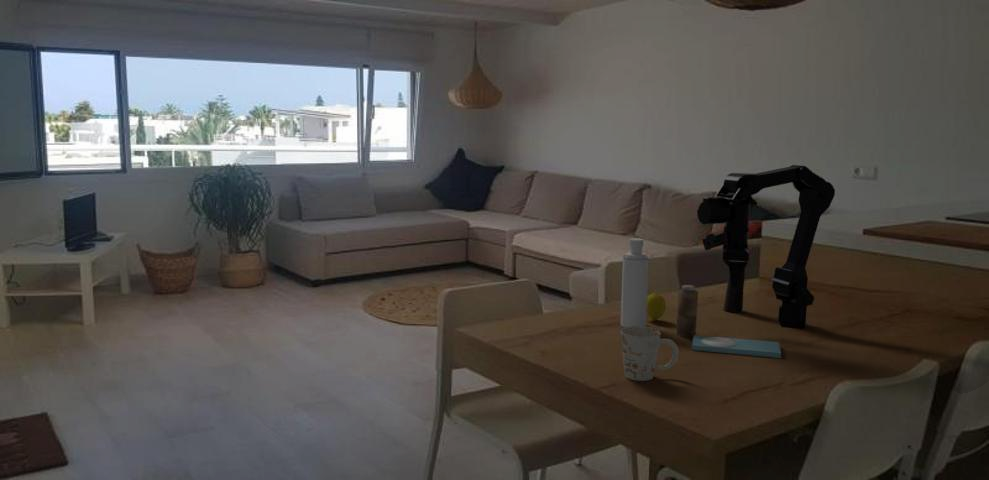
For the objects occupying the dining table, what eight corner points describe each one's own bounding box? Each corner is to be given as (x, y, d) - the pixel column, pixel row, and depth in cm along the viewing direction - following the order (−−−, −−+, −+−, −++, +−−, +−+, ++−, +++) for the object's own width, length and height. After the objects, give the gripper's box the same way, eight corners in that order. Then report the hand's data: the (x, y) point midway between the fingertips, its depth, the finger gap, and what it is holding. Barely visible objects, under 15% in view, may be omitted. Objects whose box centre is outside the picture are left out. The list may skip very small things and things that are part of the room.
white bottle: (633, 321, 206) (637, 230, 202) (651, 326, 201) (655, 233, 197) (615, 324, 203) (618, 232, 199) (632, 330, 197) (636, 235, 193)
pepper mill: (696, 333, 195) (698, 285, 193) (695, 338, 191) (697, 289, 189) (677, 331, 196) (679, 283, 194) (675, 336, 192) (678, 287, 190)
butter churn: (725, 316, 213) (730, 217, 208) (707, 307, 222) (712, 213, 217) (754, 314, 215) (760, 216, 210) (735, 306, 224) (741, 212, 219)
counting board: (778, 347, 183) (778, 341, 183) (780, 358, 175) (781, 352, 175) (693, 339, 189) (693, 334, 189) (691, 349, 181) (692, 344, 180)
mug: (615, 370, 165) (616, 326, 164) (671, 369, 166) (673, 325, 165) (624, 383, 157) (626, 337, 155) (683, 382, 158) (685, 336, 157)
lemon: (665, 323, 204) (666, 295, 202) (644, 322, 205) (645, 293, 204) (664, 318, 209) (666, 290, 208) (644, 317, 210) (645, 289, 209)
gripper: (705, 217, 204) (702, 273, 206) (703, 226, 186) (700, 287, 189) (748, 218, 201) (745, 276, 203) (750, 228, 183) (747, 290, 186)
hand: (733, 282), depth 195 cm, fingers open, 9 cm apart
